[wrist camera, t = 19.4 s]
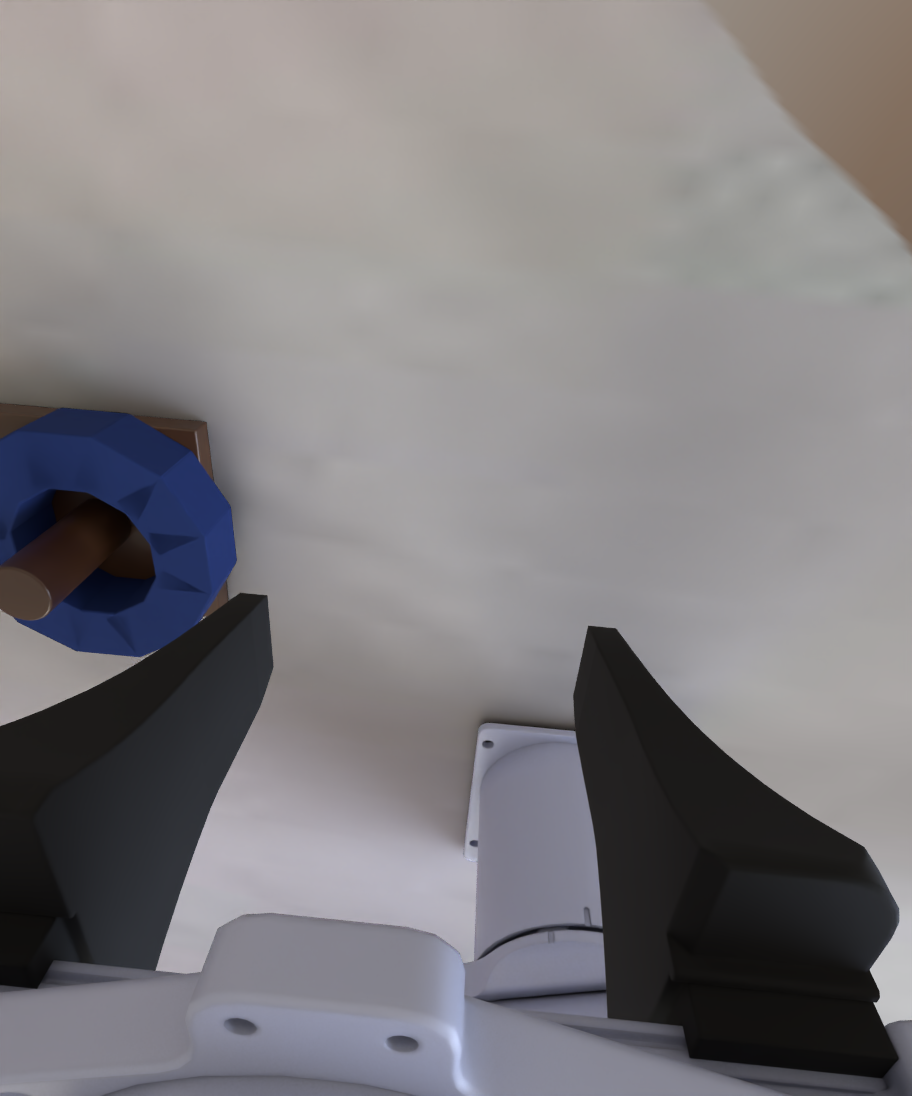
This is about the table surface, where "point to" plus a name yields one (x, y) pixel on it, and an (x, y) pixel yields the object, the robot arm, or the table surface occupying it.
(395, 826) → the table surface
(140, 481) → the ring
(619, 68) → the table surface
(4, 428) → the stand
